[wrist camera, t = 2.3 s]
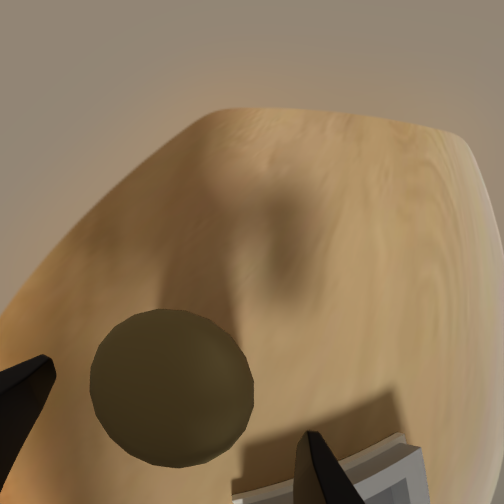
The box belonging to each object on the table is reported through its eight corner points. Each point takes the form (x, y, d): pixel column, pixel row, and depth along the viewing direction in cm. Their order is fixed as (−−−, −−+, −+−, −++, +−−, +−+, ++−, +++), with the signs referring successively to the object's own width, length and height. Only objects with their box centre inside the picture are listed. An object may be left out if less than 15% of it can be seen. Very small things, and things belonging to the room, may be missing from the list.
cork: (141, 417, 15) (49, 451, 5) (159, 328, 18) (89, 262, 8) (236, 438, 15) (257, 510, 5) (252, 347, 18) (291, 303, 8)
